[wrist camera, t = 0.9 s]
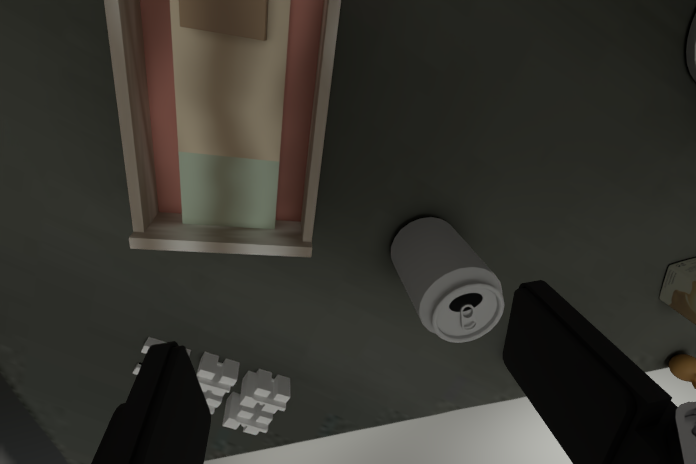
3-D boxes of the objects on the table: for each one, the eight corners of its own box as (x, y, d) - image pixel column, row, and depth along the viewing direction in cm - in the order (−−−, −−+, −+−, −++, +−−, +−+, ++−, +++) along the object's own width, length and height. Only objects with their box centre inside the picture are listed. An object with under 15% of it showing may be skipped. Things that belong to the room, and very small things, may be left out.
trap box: (343, -82, 26) (356, -109, 21) (307, 228, 37) (311, 257, 32) (116, -138, 23) (72, -184, 18) (151, 218, 34) (130, 248, 29)
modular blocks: (289, 376, 47) (290, 402, 44) (264, 409, 49) (263, 437, 46) (130, 325, 40) (116, 352, 36) (109, 366, 42) (93, 396, 38)
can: (451, 205, 38) (514, 268, 28) (455, 262, 42) (512, 337, 32) (383, 223, 38) (421, 293, 28) (393, 279, 42) (430, 359, 31)
